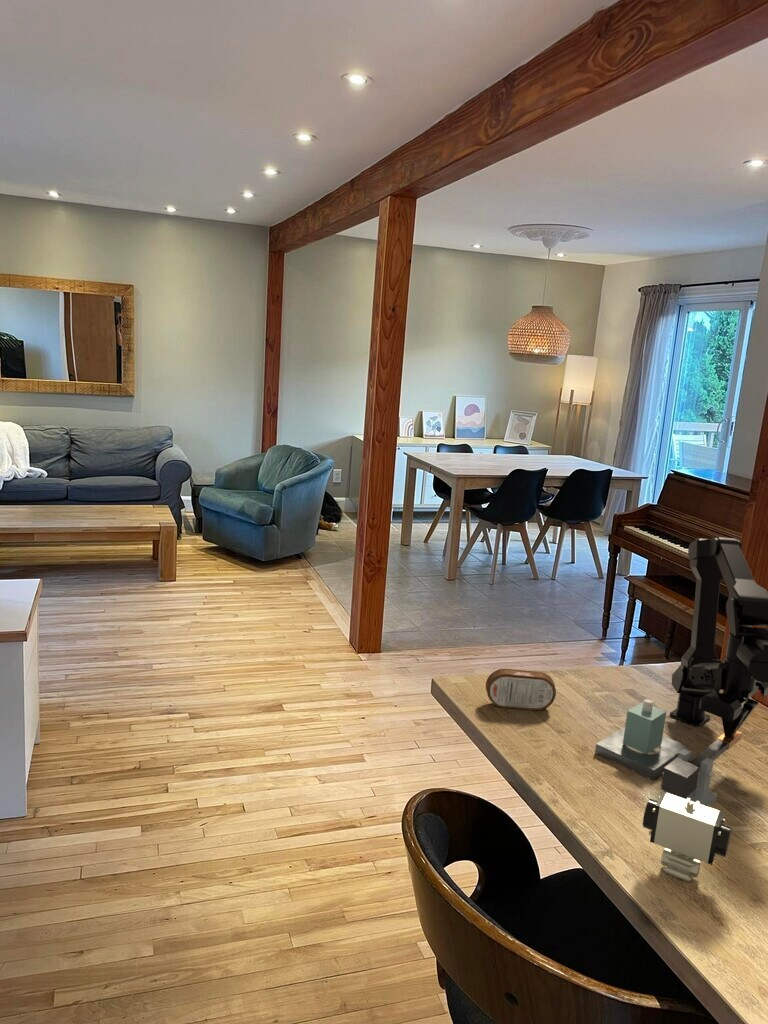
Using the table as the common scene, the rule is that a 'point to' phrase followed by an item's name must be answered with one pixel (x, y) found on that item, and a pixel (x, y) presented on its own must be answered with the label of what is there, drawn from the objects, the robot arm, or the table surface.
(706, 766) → the lever stand
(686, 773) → the lever
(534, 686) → the tin
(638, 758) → the press bed
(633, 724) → the block
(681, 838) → the pneumatic valve
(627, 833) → the table surface
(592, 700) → the table surface
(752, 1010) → the table surface
